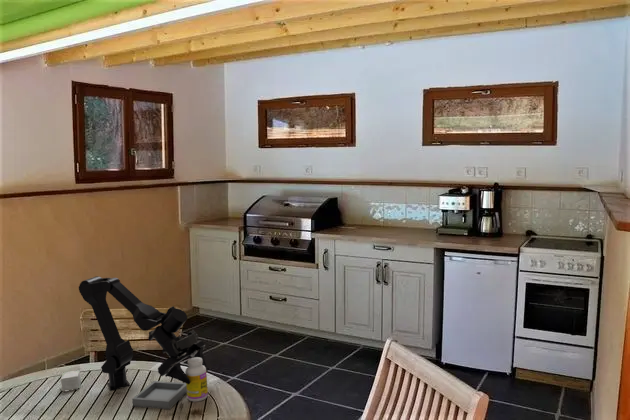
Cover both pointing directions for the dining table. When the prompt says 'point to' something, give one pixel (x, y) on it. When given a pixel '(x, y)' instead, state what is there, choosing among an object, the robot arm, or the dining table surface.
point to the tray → (160, 395)
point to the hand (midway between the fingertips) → (198, 377)
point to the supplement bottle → (196, 380)
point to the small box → (71, 380)
